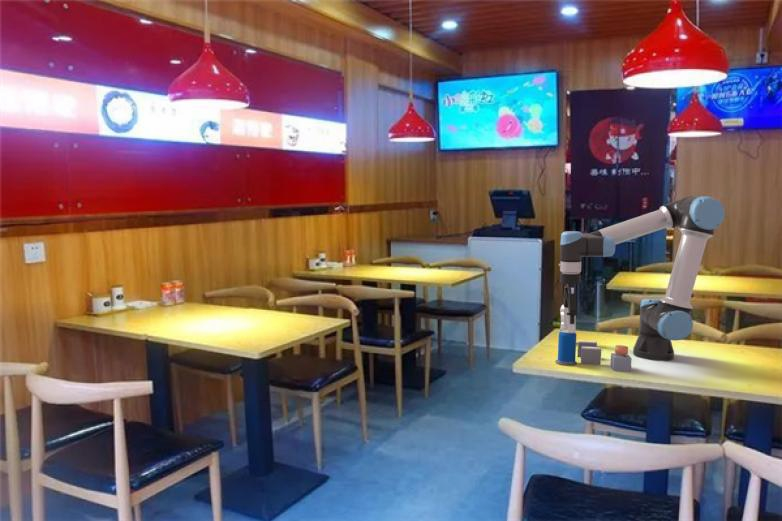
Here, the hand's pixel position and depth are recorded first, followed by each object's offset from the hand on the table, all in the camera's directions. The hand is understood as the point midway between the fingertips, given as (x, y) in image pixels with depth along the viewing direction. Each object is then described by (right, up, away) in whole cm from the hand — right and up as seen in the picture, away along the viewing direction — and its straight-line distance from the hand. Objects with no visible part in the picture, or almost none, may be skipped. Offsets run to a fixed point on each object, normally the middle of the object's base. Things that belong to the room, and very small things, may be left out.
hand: (569, 328), depth 232 cm
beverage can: (-1, -13, +2) cm, 13 cm away
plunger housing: (+17, -14, -5) cm, 23 cm away
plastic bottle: (+8, -10, +32) cm, 35 cm away
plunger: (+18, -13, -5) cm, 23 cm away
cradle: (+9, -13, +5) cm, 17 cm away
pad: (-1, -13, +2) cm, 14 cm away
